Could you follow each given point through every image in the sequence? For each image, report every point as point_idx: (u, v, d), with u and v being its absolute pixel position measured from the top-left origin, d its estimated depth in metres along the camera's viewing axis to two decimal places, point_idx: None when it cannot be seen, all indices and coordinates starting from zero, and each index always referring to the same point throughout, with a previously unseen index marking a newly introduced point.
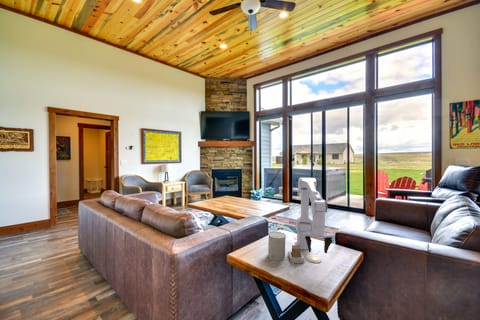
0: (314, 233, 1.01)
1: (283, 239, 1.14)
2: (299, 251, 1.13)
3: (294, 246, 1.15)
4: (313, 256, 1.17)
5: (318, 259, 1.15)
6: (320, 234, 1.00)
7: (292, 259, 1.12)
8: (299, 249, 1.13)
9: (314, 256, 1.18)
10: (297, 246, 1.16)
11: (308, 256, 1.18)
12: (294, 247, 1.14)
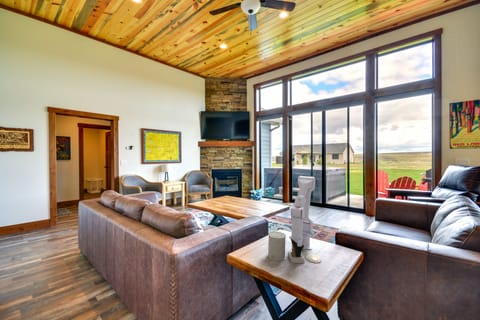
0: None
1: (283, 239, 1.14)
2: None
3: None
4: (313, 256, 1.17)
5: (318, 259, 1.15)
6: (291, 235, 1.15)
7: (292, 259, 1.12)
8: None
9: (314, 256, 1.18)
10: None
11: (308, 256, 1.18)
12: None
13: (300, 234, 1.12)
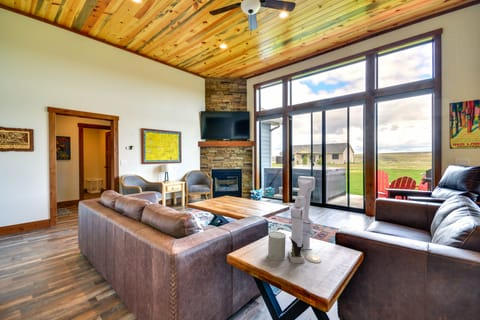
0: None
1: (283, 239, 1.14)
2: None
3: None
4: (313, 256, 1.17)
5: (318, 259, 1.15)
6: (291, 236, 1.15)
7: (292, 259, 1.12)
8: None
9: (314, 256, 1.18)
10: None
11: (308, 256, 1.18)
12: None
13: (300, 234, 1.12)
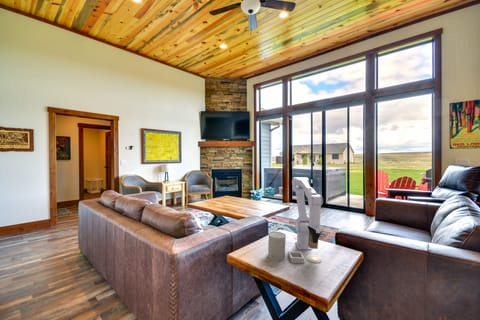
0: None
1: (283, 239, 1.14)
2: None
3: (311, 234, 1.15)
4: (313, 256, 1.17)
5: (318, 259, 1.15)
6: (309, 223, 1.15)
7: (292, 259, 1.12)
8: None
9: (314, 256, 1.18)
10: None
11: (308, 256, 1.18)
12: (311, 235, 1.14)
13: (318, 221, 1.12)
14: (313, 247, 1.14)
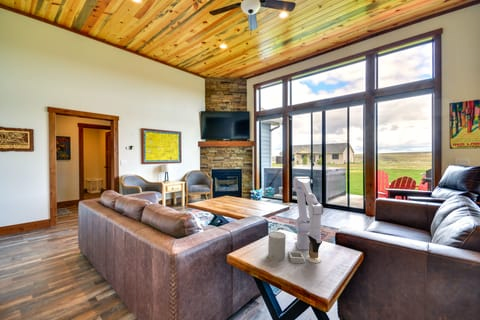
0: None
1: (283, 239, 1.14)
2: None
3: (311, 243, 1.16)
4: None
5: (318, 259, 1.15)
6: (309, 232, 1.15)
7: (292, 259, 1.12)
8: None
9: None
10: None
11: (308, 256, 1.18)
12: (311, 244, 1.15)
13: (318, 231, 1.13)
14: (313, 256, 1.14)
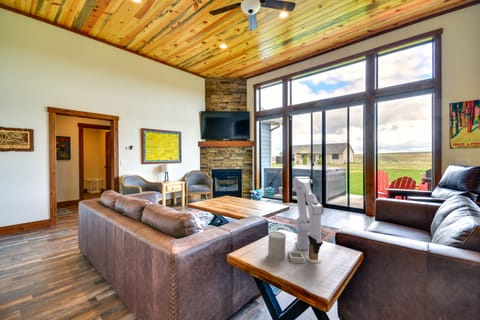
0: None
1: (283, 239, 1.14)
2: None
3: (311, 245, 1.16)
4: None
5: (318, 259, 1.15)
6: (309, 232, 1.15)
7: (292, 259, 1.12)
8: None
9: None
10: None
11: (308, 256, 1.18)
12: (311, 246, 1.15)
13: (318, 231, 1.13)
14: (313, 258, 1.14)
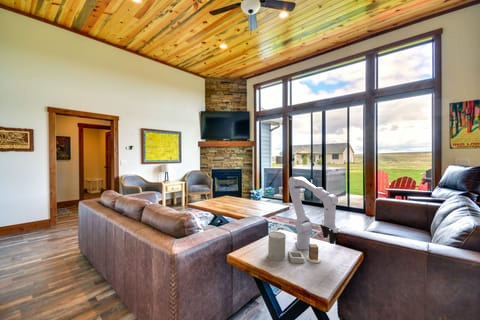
0: None
1: (283, 239, 1.14)
2: (317, 250, 1.14)
3: (311, 245, 1.16)
4: None
5: (318, 259, 1.15)
6: (324, 223, 1.15)
7: (292, 259, 1.12)
8: (317, 248, 1.14)
9: None
10: (314, 245, 1.16)
11: (308, 256, 1.18)
12: (311, 246, 1.15)
13: (334, 221, 1.13)
14: (313, 258, 1.14)
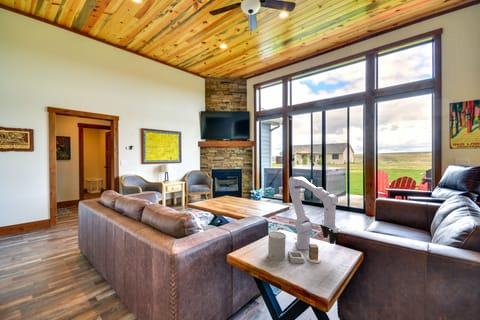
0: None
1: (283, 239, 1.14)
2: (317, 250, 1.14)
3: (311, 245, 1.16)
4: None
5: (318, 259, 1.15)
6: (324, 223, 1.15)
7: (292, 259, 1.12)
8: (317, 248, 1.14)
9: None
10: (314, 245, 1.16)
11: (308, 256, 1.18)
12: (311, 246, 1.15)
13: (334, 221, 1.13)
14: (313, 258, 1.14)
